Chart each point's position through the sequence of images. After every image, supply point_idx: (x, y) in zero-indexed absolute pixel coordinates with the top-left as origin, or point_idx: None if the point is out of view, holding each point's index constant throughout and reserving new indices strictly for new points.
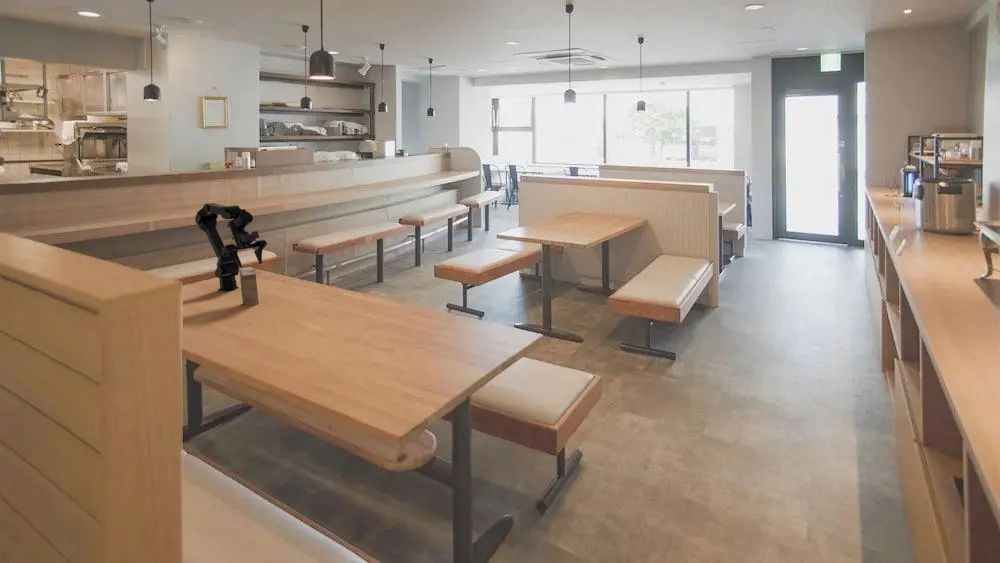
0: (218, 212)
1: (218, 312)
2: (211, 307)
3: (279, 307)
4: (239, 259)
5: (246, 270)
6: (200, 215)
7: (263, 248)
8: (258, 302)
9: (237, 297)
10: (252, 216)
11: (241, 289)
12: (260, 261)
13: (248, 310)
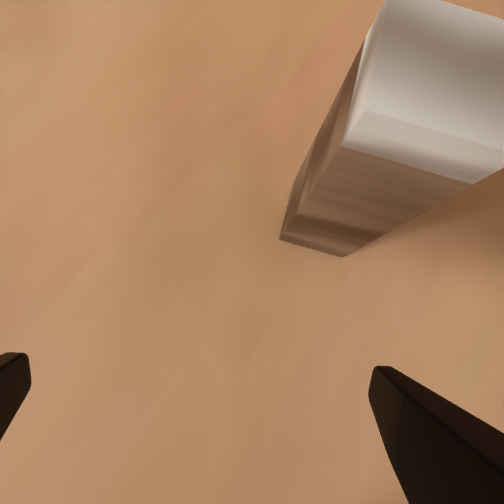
0: None
1: (491, 215)
2: (483, 332)
3: (264, 60)
4: (479, 446)
5: (489, 17)
6: None
7: None
8: (296, 177)
9: (286, 425)
10: None
11: (381, 232)
12: (5, 367)
13: None
